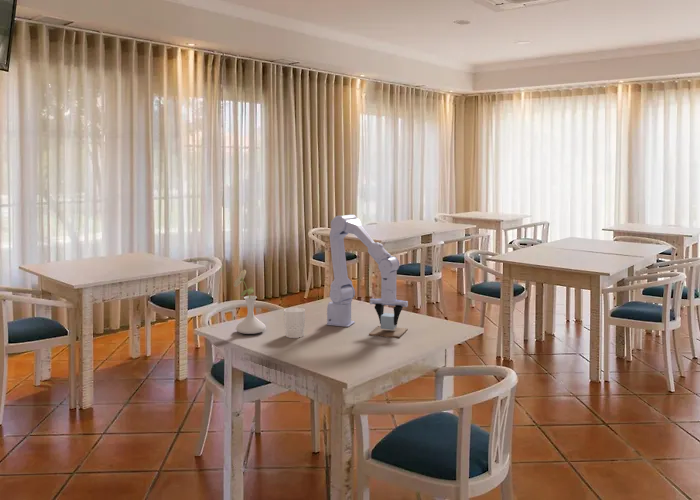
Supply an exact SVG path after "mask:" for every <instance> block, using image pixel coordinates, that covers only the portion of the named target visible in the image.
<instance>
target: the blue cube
mask: <svg viewBox="0 0 700 500" xmlns="http://www.w3.org/2000/svg"><path fill="white" fill-rule="evenodd" d="M397 325H398V324H397ZM397 325H394V313H392V312H391V313H390V312H383V314H382V315H381V324H380V326H381V329H389V330H394V329H395V328H396V327H397V328H398V326H397Z"/></svg>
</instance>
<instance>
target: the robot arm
mask: <svg viewBox="0 0 700 500" xmlns="http://www.w3.org/2000/svg"><path fill="white" fill-rule="evenodd" d="M348 234H351V235H354V236H355V237H356V238H358V239H359V240H360V242H361V243H362V244H363V245H364V246H365V247H366V248H367V253H368V254H369V256H370V257H371V258H372V259H373V260H374V261H375V263H377V267H378V270H379V272H380V277H381V279H380V280H381V288H380V291H381V292H380V295H381V296H380V298H370V299H369V305H374V309H375V312H376V313H377V315H378V319H379V324H380V325H381V315H382V314H384V308H385V306H391V307H392V306H393V314H394V325H398V321H399V318H400V314H401V311H402V310H403V307H404V308H408V307H409V301H408V300H402V299H397V282H398V281H397V279H398V278H397V273H398V270H399V269H400V265H401V264H400V260H398V259H399V258H397V257H396V256H394V255H392V254H391V253H389V252H388V250H386V248H385V247H384V244H383V243H380V242H379V241H378V242H377V241H376V242H375V241H374V239H373V238H372V237H371V235H370V234H369V233H368V231H367V230H366V229H365V227H363V225H362V222H361V220H360V219H359V218H358V217H357V216H356V215H355V214H353V213H349V214H345V215H336V216H334V217H333V218H332V219H331V221H330V231H329V234H328V235H329V244H330V253H331V263H332V271H333V280H332V282H331V284H330V291H329V298H330V300H331V301H329V302H328V304H327V307H326V324H325V325H326V326H335V327H345V328H346V327H347V328H349V327H350V326H352V325H354V323H356V321H355V320H352V302H353V298H355V296H356V290H355V288H354V286H353V281H352V280H351V279H350V278H349V276H348V274H349V273H348V267H347V266H348V265H347V257H346V249H345V247H346V246H345V241H344V240H345V238H346V237H347V235H348Z"/></svg>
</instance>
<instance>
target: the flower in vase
mask: <svg viewBox="0 0 700 500" xmlns="http://www.w3.org/2000/svg"><path fill="white" fill-rule="evenodd" d="M246 275H247V270H246V269H243V270H241V271H240V272H239V275H237V276H236V279H235V280H234V282H233V287H234V288H237V287H238V286H240V285H241V283H242V282H243V284H244V286H245V290H243V291H242V292H241V293H240V297H243V299H244V300H245V302H246V307H247V315H246V316H245V318H244V319H243V320H241V322H239V323H238V324H237V325H236V328H235V330H236V331H237V332H238V333H241V334H246V335H256V334H260V333H262V332H264V331H265V330H266V328H267V326H266V324H265V323H263V321H261V320H259V319H258V318H257V317H256V316H255V313H254V307H255V301H256V299H257V298H258V297H257V296H256V295H252V294H254V292H255V290H254V287H253V286H250V287H249V288H248V287H247V284H246V282H245V280H244V279H245V277H246ZM246 294H247V295H246ZM245 295H246V296H245Z"/></svg>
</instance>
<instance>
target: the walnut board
mask: <svg viewBox="0 0 700 500" xmlns="http://www.w3.org/2000/svg"><path fill="white" fill-rule="evenodd" d="M408 329H409V328H407V327H398V326H397V327H396V328H395V329H394V330H389V329H381V325H377V326H376V327H375V328H373V330H371V331H370V332H369V333H368V336H373V337H383V338H395V339H401V337H402V336H403V335H405V333H407V331H408Z"/></svg>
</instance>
